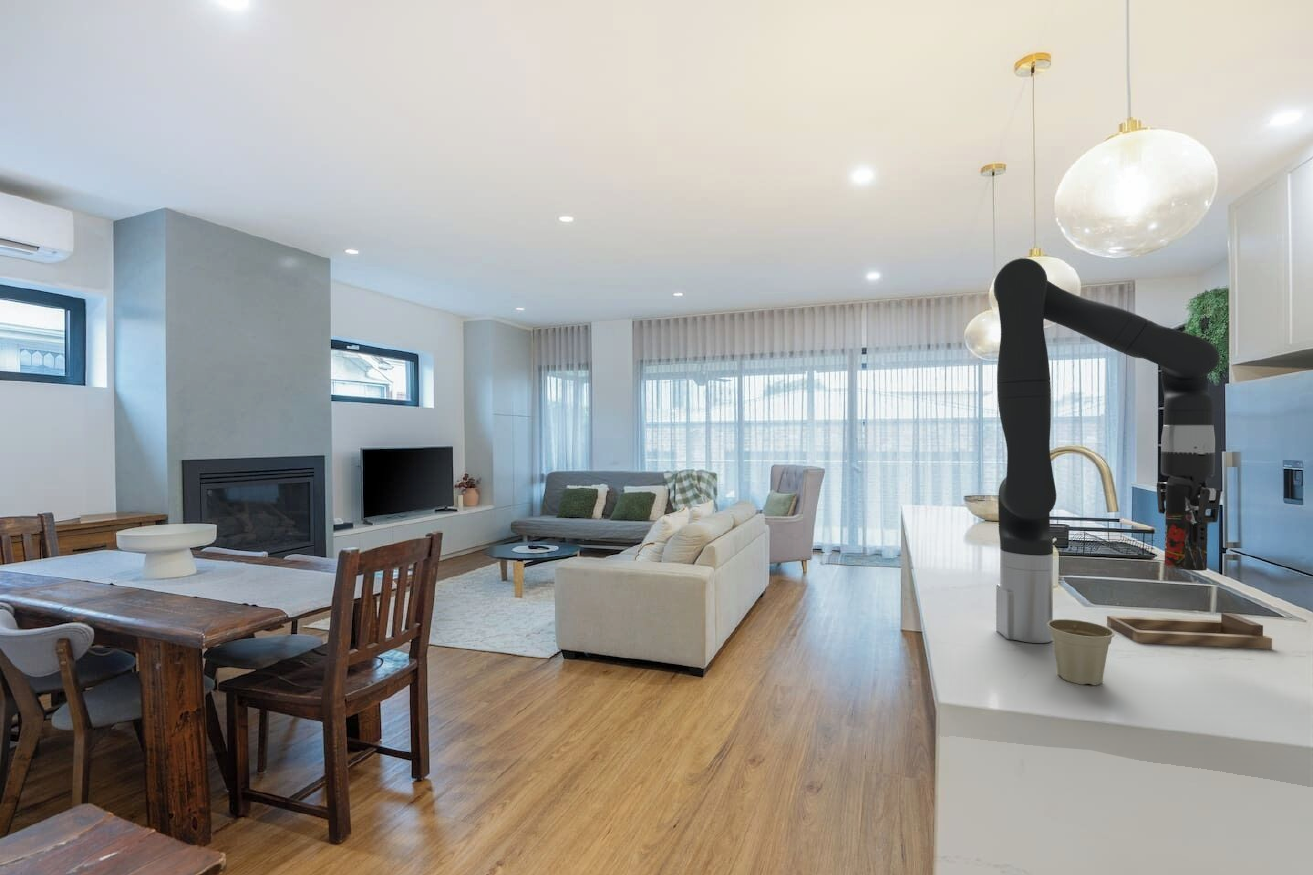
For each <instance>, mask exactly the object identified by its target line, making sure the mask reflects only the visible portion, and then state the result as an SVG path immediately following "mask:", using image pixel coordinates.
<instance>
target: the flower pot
mask: <svg viewBox="0 0 1313 875" xmlns="http://www.w3.org/2000/svg"><path fill="white" fill-rule="evenodd" d="M1047 626H1048V627H1049V628H1050V633H1051V635H1052V637H1053V640H1052V641H1053V648H1054V654H1055V662H1056V668H1057V675H1059V676H1060V677H1061V679H1062V680H1065V681H1067V682H1070V683H1074V684H1076V685H1083V686H1084V685H1087V684H1089V685H1091V686H1097V685H1098V686H1099V685H1101V684H1102V683H1103V682H1104V681H1103V680H1104V673H1105V668H1106V661H1107V656H1108V651H1109V646H1110V644H1111V643H1112V638H1114V637H1115V634H1116V633H1115V630H1114V629H1112V628H1111V627H1109V626H1108V627H1107V626H1105V625H1102V624H1098V623H1095V622H1091V621H1084V620H1079V619H1078V620H1077V619H1069V618H1068V619H1067V618H1065V619H1063V618H1061V619H1059V618H1058V619H1053V620H1051V621H1049V622H1048V623H1047Z"/></svg>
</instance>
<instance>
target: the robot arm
mask: <svg viewBox="0 0 1313 875" xmlns="http://www.w3.org/2000/svg"><path fill="white" fill-rule="evenodd" d="M993 295H994V298H995V301H996V302H997V307H998V313H999V314H998V315H999V321H1000V322H999V323H1000V342H999V350H998V359H997V360H998V361H997V372H996V373H997V374H996V376H997V377H996V380H997V381H996V386H997V389H996V390H997V403H998V404H997V405H998V412H999V413H998V414H999V419H1000V423H1001V427H1002V431H1003V435H1004V439H1005V446H1006V453H1007V454H1006V456H1007V458H1006V477H1004V478H1003V480H1002V481H1001V483H1000V485H999V488H998V496H997V497H998V498H997V499H998V500H997V501H998V502H997V505H998V506H997V507H998V508H997V509H998V511H997V512H998V515H997V516H998V535H999V546H1000V547H999V552H1000V553H999V557H1000V558H999V583H998V584H996V587H995V589H996V590H995V591H996V592H995V597H996V598H995V600H996V601H995V602H996V603H995V606H996V607H995V608H996V610H995V612H996V613H995V615H996V617H995V621H996V623H995V625H996V626H995V629H996V631H997V632H998V633H999V634H1001V635H1002V636H1003V637H1004V638H1005V639H1007V640H1015V641H1019V642H1025V643H1033V644H1045V643H1051V642H1052V641H1053V637H1052V635H1051V633H1050V628H1049V627H1048V626H1047V623H1048V622H1049V621H1051V620H1054V615H1053V614H1054V607H1053V606H1054V600H1053V599H1054V540H1053V536H1052V532H1051V520H1050V519H1051V518H1050V517H1051V516H1050V515H1051V514H1050V513H1051V512H1052V510H1053V509H1054V507H1055V505H1056V502H1057V489H1056V484H1055V479H1054V478H1055V477H1054V474H1053V473H1054V472H1053V466H1052V464H1053V463H1052V458H1051V446H1050V444H1051V442H1050V441H1051V427H1052V426H1051V425H1052V424H1051V423H1052V422H1051V420H1052V408H1051V407H1052V386H1051V385H1052V384H1051V372H1050V363H1049V362H1050V361H1049V355H1048V354H1049V353H1048V346H1047V341H1046V337H1045V322H1044V321H1045V320H1047V321H1050V322H1053V323H1055V324H1057V325H1060V326H1063V327H1065V328H1068V329H1070V330H1072V331H1074V332H1076V333H1078V334H1080V335H1083V336H1085V337H1086V338H1090V339H1092V340H1093V341H1095V342H1098V343H1100V344H1102V345H1104V346H1106V347H1109V348H1110V349H1113V350H1115V351H1117V352H1120V353H1122V354H1124V355H1127V356H1130V357H1131V358H1135V359H1144V360H1146V361H1149V362H1151V363H1154V364H1156V365H1159V366H1160V377H1161V378H1160V379H1161V386H1162V387H1161V388H1162V393H1163V398H1164V400H1163V401H1164V402H1163V420H1162V421H1163V423H1162V424H1163V426H1162V432H1161V438H1160V439H1161V440H1160V441H1161V442H1160V443H1161V445H1160V449H1161V450H1160V454H1161V455H1160V474H1161V475H1163V476H1167V477H1168V480H1167V482H1157V483H1156V495H1157V511H1158V513H1159V514H1163V516H1164V518H1165V514H1166V484H1176V485H1184V486H1190V498H1191V500H1196V499H1199V506H1192V505H1191V504H1190V501H1189V499H1188V498H1186V497H1185V511H1186V512H1188V513H1189V518H1190V522H1191V523H1192V524H1190V544H1191V545H1195V546H1205V545H1206V540H1207V541H1208V538H1207V535H1206V534H1207V525H1208V526H1209V525H1210V524H1213V523H1218V519H1219V512H1220V505H1221V494H1222V492H1221V489H1219V488H1212V487H1211V488H1210V487H1209V488H1208V486H1209V485H1208V483H1207V482H1208V481H1207V478H1212V477H1214V476H1215V471H1216V470H1215V467H1216V466H1215V464H1216V463H1215V462H1216V436H1215V435H1216V433H1215V428H1214V422H1215V417H1214V415H1215V414H1214V413H1215V411H1214V410H1215V406H1214V405H1215V404H1214V399H1213V397H1212V396H1211V395H1210V394H1209V384H1208V383H1209V381H1208V380H1209V379H1208V378H1209V377H1208V374H1210V373H1213V371H1214V370H1215V369H1216V367H1217V366H1218V365H1219V362H1220V358H1221V357H1220V356H1221V355H1220V352H1219V351H1218V349H1217V347H1216V346H1215V345H1214V344H1212V343H1211V342H1210V341H1208V340H1206V339H1204V338H1202V337H1199V336H1197V335H1193V334H1192V333H1188V332H1184V331H1181V330H1178V329H1174V328H1171V327H1167V326H1164V325H1161V324H1158V323H1156V322H1154V321H1152V320H1150V319H1148V318H1146V317H1143V316H1140V315H1138V314H1136V313H1133V312H1131V311H1129V310H1126V309H1124V308H1122V307H1121V308H1120V307H1118V306H1114V305H1111V304H1108V303H1104V302H1100V301H1096V300H1092V299H1089V298H1086V297H1083V296H1080V295H1077V294H1075V293H1071V292H1069V291H1068V290H1065V289H1062V288H1061V287H1059V286H1057V285H1055V284H1054V283H1052V282H1051V281H1049V280H1048V276H1047V273H1046V270H1045V268H1044V267H1043V266H1042V265H1041V264H1040V263H1038V262H1037V261H1036V260H1034V259H1031V258H1029V257H1028V258H1027V257H1018V258H1015V259H1012V260H1010V261H1008V262H1007V263H1006V264H1004V265H1003V266H1002V267H1001V268H1000V269H999V271H998V272H997V274H996V276H995V278H994V282H993ZM1195 511H1198V515H1197V516H1196V513H1195ZM1209 511H1210V513H1209Z"/></svg>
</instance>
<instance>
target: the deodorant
mask: <svg viewBox="0 0 1313 875" xmlns="http://www.w3.org/2000/svg"><path fill="white" fill-rule="evenodd" d="M1208 488H1210V486H1209V485H1208ZM1185 497H1186V498H1188V499H1189V501H1190V504H1191V505H1192V506H1199V499H1196V500H1191V498H1190V486H1184V485H1176V484H1166V505H1165V507H1166V514H1165V517H1164V519H1165V520H1164V522H1165V524H1164V525H1165V526H1164V566H1165V567H1168V568H1173V569H1177V570H1178V569H1179V570H1185V571H1195V572H1197V571H1199V572H1200V571H1207V569H1208V535H1209V534H1208V532H1209V531H1208V528H1209V524H1208V525H1207V534H1206V535H1207V540H1206V545H1205V546H1195V545H1191V544H1190V524H1192V523H1191V522H1190V518H1189V513H1188V512H1186V511H1185ZM1195 513H1196V516H1197V515H1198V511H1195Z"/></svg>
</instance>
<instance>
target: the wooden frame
mask: <svg viewBox="0 0 1313 875" xmlns="http://www.w3.org/2000/svg"><path fill="white" fill-rule="evenodd" d="M1220 614H1221V615H1220V619H1221V620H1211V619H1210V620H1208V619H1190V618H1189V619H1188V618H1184V619H1183V618H1165V617H1163V618H1162V617H1160V618H1159V617H1141V616H1140V617H1138V616H1137V617H1136V616H1121V615H1120V616H1119V615H1118V616H1117V615H1107V616H1106V627H1107V626H1108V628H1110V629H1112V630H1113V631H1116V632H1118V633H1120V634H1122V635H1123V636H1125V637H1127V638H1128V639H1130V640H1132V641H1134V642H1135V643H1142V644H1143V643H1144V644H1161V645H1163V644H1164V645H1183V646H1185V645H1186V646H1187V645H1188V646H1202V647H1203V646H1204V647H1222V648H1223V647H1225V648H1245V649H1262V650H1263V649H1265V650H1269V649H1270V650H1273V638H1272V637H1270V636H1267V635H1264V625H1263V624H1261V623H1257V622H1255V621H1253V620H1251V619H1247V618H1245V617H1242V616H1240V615H1238V614H1235V613H1232V612H1231V613H1228V612H1221V613H1220ZM1162 630H1163V631H1162Z"/></svg>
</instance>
